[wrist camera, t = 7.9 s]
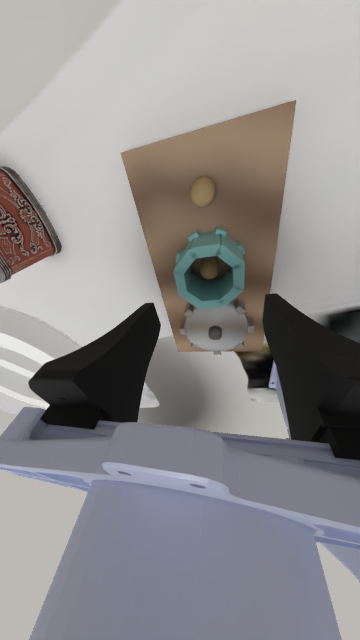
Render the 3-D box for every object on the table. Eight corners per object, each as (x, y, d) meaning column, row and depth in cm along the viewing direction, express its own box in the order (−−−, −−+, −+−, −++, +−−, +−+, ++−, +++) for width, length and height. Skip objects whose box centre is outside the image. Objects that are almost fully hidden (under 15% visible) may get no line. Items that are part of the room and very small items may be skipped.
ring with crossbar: (121, 395, 44) (113, 415, 40) (33, 389, 51) (19, 406, 47) (49, 298, 27) (23, 318, 23) (-70, 309, 34) (-105, 326, 30)
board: (260, 345, 26) (265, 366, 23) (179, 346, 29) (175, 364, 26) (290, 104, 12) (312, 85, 9) (125, 153, 15) (105, 150, 12)
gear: (242, 287, 19) (247, 309, 16) (184, 292, 21) (178, 313, 18) (244, 221, 15) (251, 233, 12) (172, 233, 17) (162, 246, 14)
